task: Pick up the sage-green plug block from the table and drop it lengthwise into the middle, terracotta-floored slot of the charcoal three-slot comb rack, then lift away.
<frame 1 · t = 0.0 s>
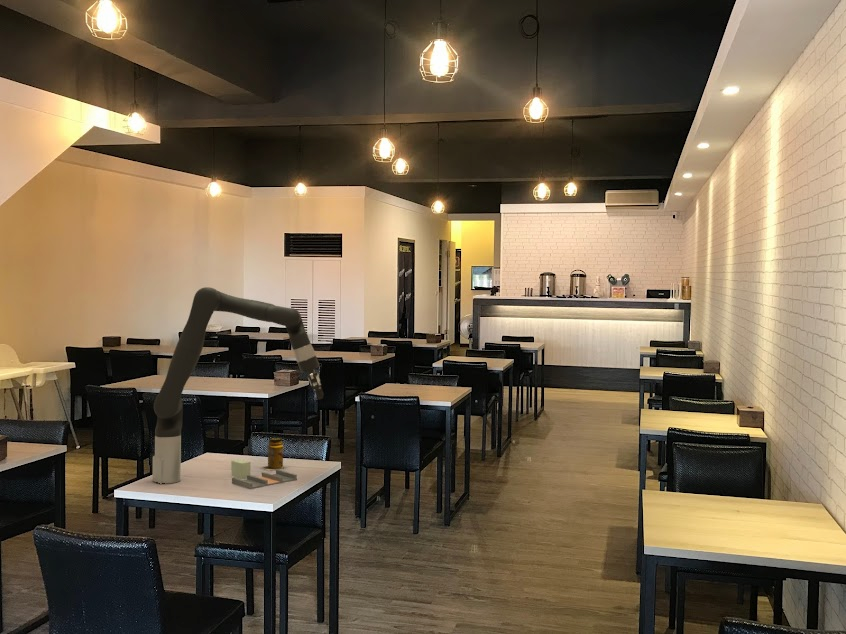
hand: (321, 397, 294), 31 cm above the table, tool tilted 20°, fingers open, 8 cm apart
comb rack: (264, 481, 290), on the table
condiment: (273, 468, 313), on the table
plug: (240, 476, 297), on the table
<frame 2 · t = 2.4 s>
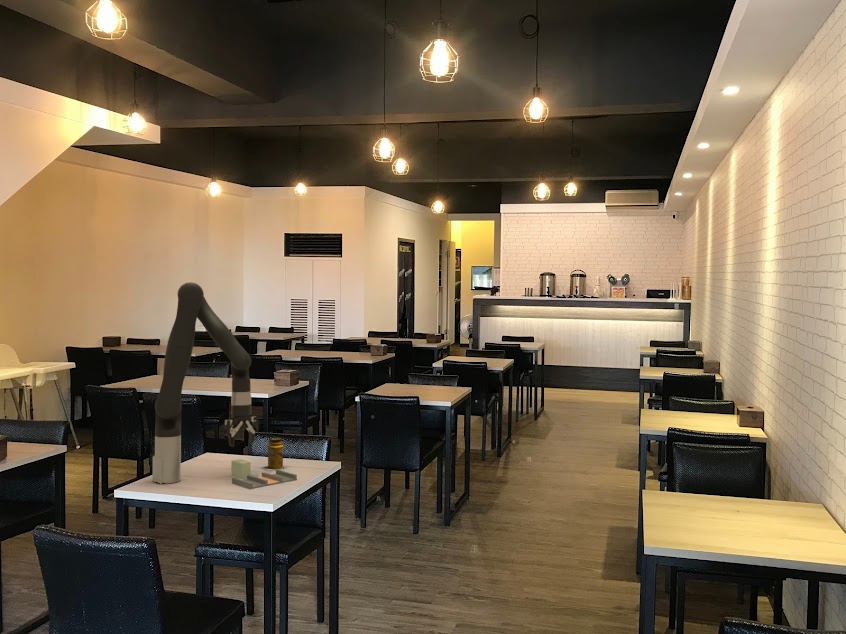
hand: (241, 444, 297), 12 cm above the table, tool pointing down, fingers open, 8 cm apart
nothing on the table moved.
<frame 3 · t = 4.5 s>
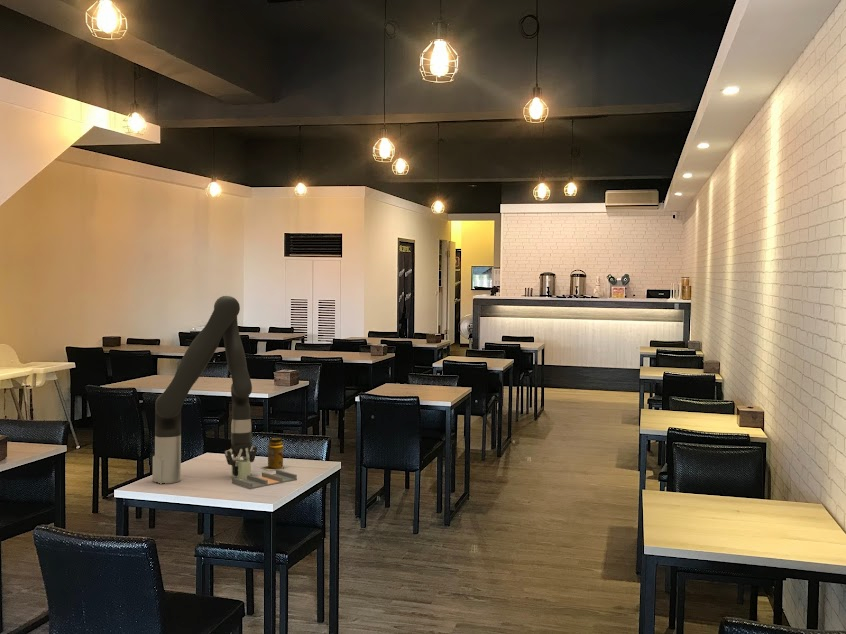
hand: (240, 474, 297), 1 cm above the table, tool pointing down, fingers closed on plug, 4 cm apart
plug: (240, 476, 297), on the table, touching gripper
everything else where it was.
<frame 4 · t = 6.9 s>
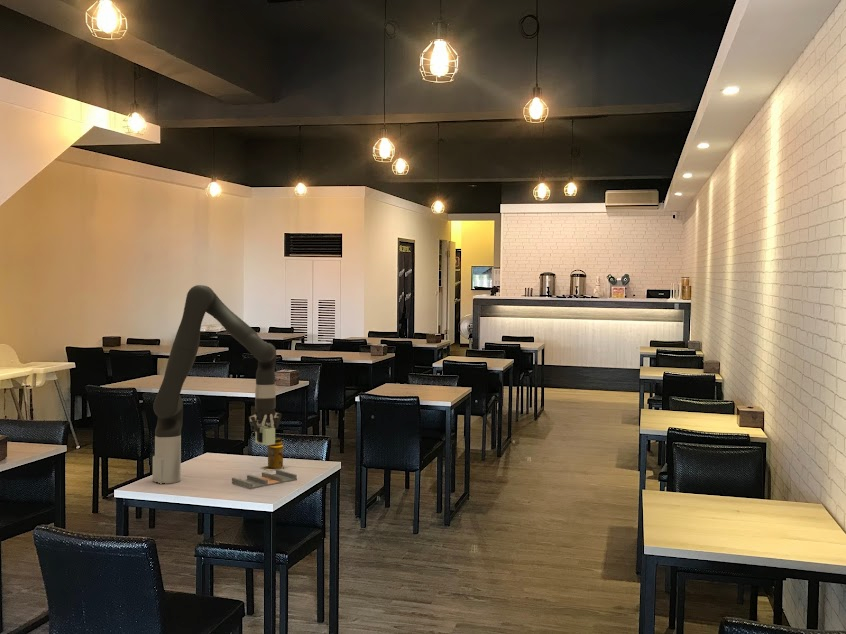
hand: (265, 441, 290), 15 cm above the table, tool pointing down, fingers closed on plug, 4 cm apart
plug: (265, 443, 290), point 14 cm above the table, touching gripper
everything else where it was.
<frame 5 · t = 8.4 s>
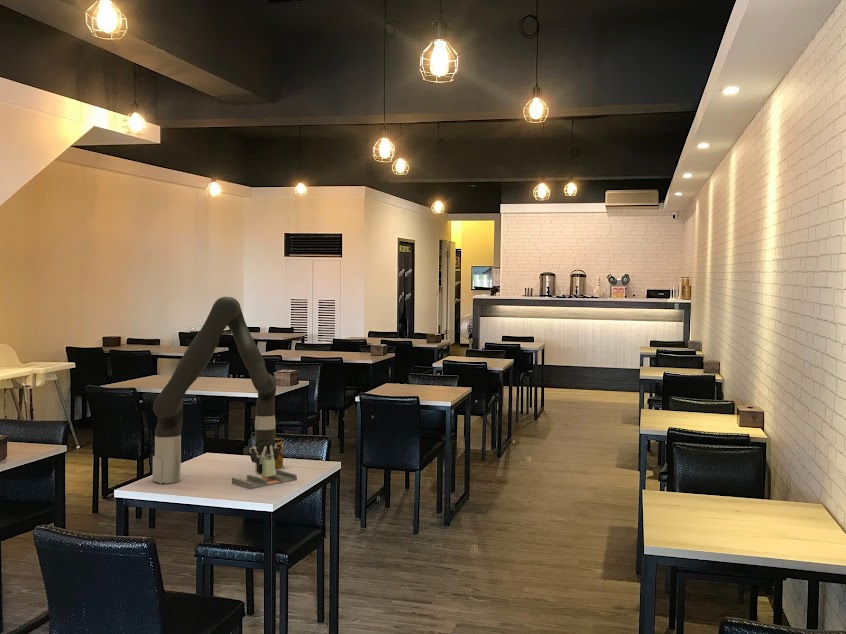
hand: (265, 472, 290), 3 cm above the table, tool pointing down, fingers closed on plug, 4 cm apart
plug: (265, 474, 290), point 3 cm above the table, touching gripper
everything else where it was.
when the fingers open (2 cm above the table, at t = 9.3 s): plug drops 1 cm, resting on comb rack.
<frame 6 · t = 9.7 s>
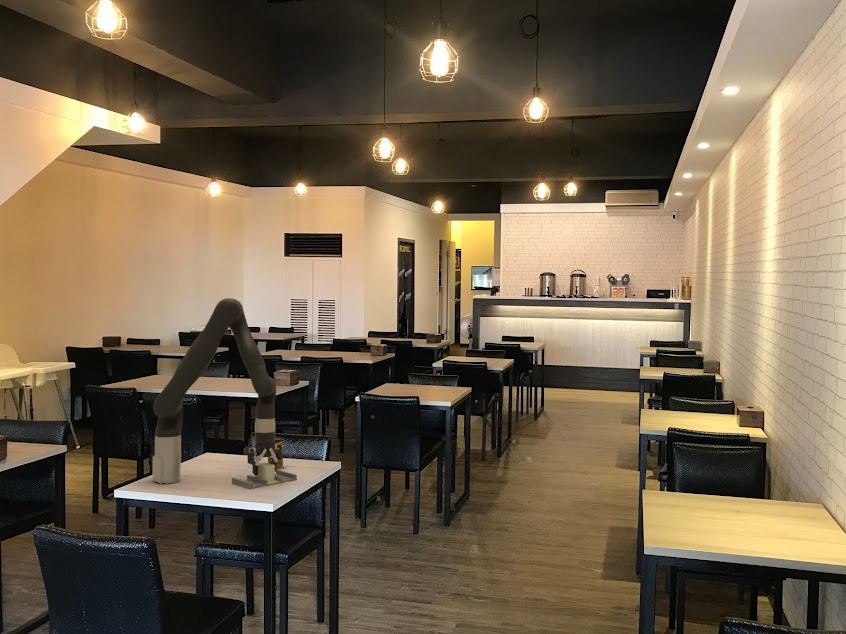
hand: (264, 473, 290), 3 cm above the table, tool pointing down, fingers open, 7 cm apart
plug: (264, 480, 290), point 1 cm above the table, touching comb rack
everything else where it was.
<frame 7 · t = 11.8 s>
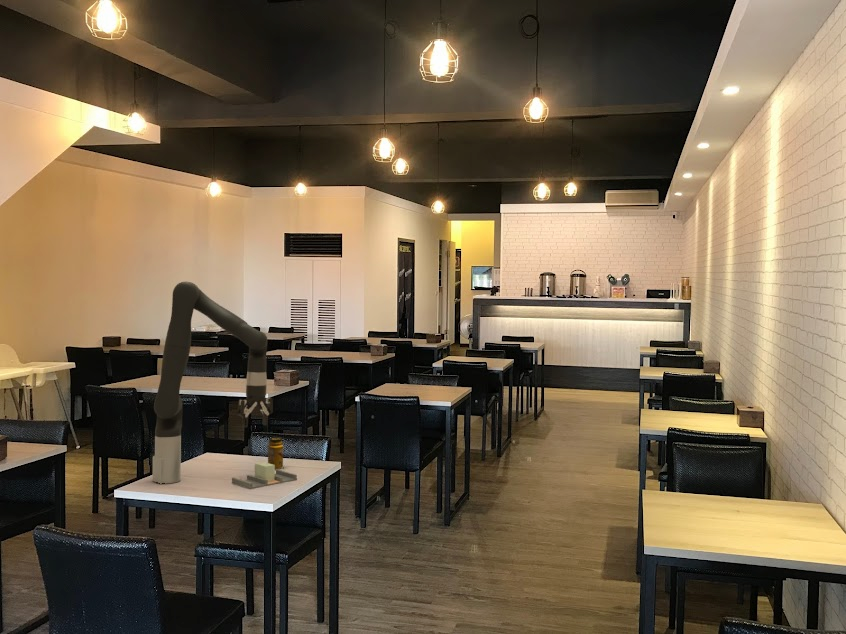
hand: (255, 426, 293), 20 cm above the table, tool pointing down, fingers open, 8 cm apart
nothing on the table moved.
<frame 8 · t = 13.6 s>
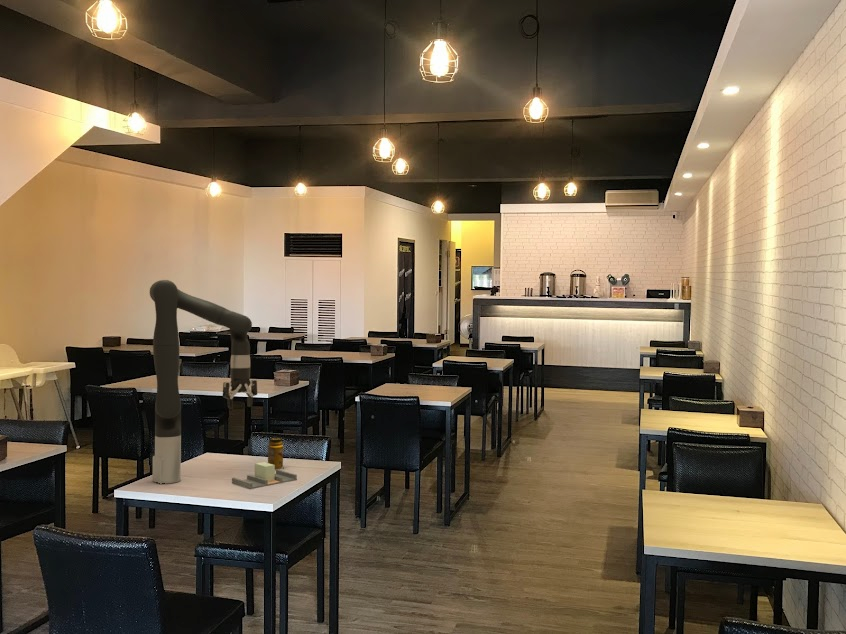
hand: (240, 407, 301), 26 cm above the table, tool pointing down, fingers open, 8 cm apart
nothing on the table moved.
at the end: plug 0.0 cm from the target spot, point 0.5 cm above the table; plug tilted 0°; the gripper is holding nothing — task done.
